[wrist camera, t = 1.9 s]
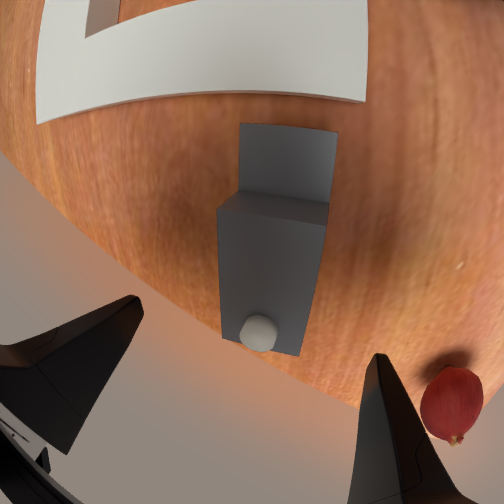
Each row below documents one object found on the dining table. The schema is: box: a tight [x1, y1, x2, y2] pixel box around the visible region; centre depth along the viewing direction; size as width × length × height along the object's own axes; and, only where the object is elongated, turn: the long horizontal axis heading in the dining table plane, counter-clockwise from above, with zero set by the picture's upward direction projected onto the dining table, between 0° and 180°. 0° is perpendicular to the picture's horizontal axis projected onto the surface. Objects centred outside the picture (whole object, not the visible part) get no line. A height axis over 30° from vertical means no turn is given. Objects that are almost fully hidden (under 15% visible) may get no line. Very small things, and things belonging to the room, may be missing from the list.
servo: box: [217, 123, 338, 357], centre depth 13 cm, size 13×4×7 cm, turn 178°
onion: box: [420, 366, 483, 447], centre depth 14 cm, size 6×6×8 cm
